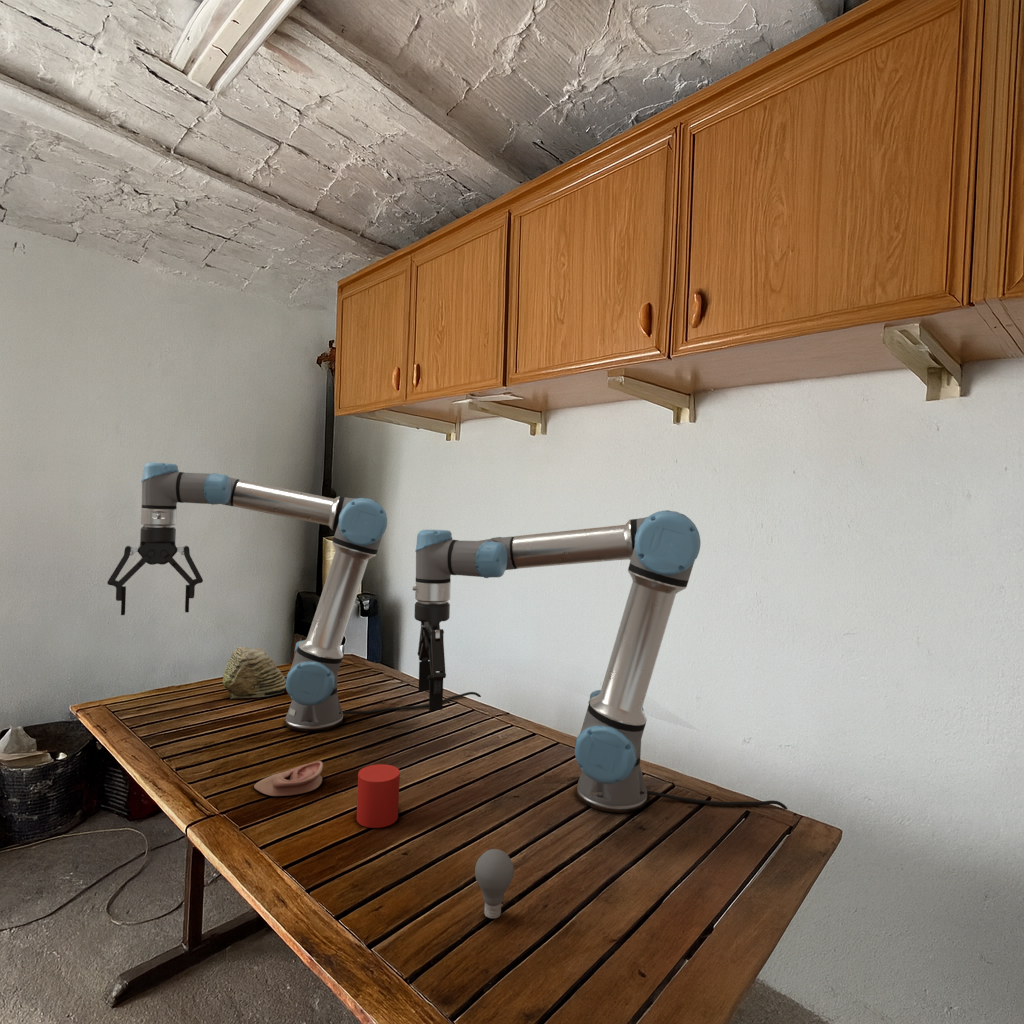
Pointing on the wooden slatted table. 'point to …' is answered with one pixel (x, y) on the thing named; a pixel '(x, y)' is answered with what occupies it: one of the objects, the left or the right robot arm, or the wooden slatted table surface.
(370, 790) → the canister
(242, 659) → the fossil
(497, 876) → the light bulb
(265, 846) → the wooden slatted table surface
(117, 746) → the wooden slatted table surface
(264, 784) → the anatomical model
